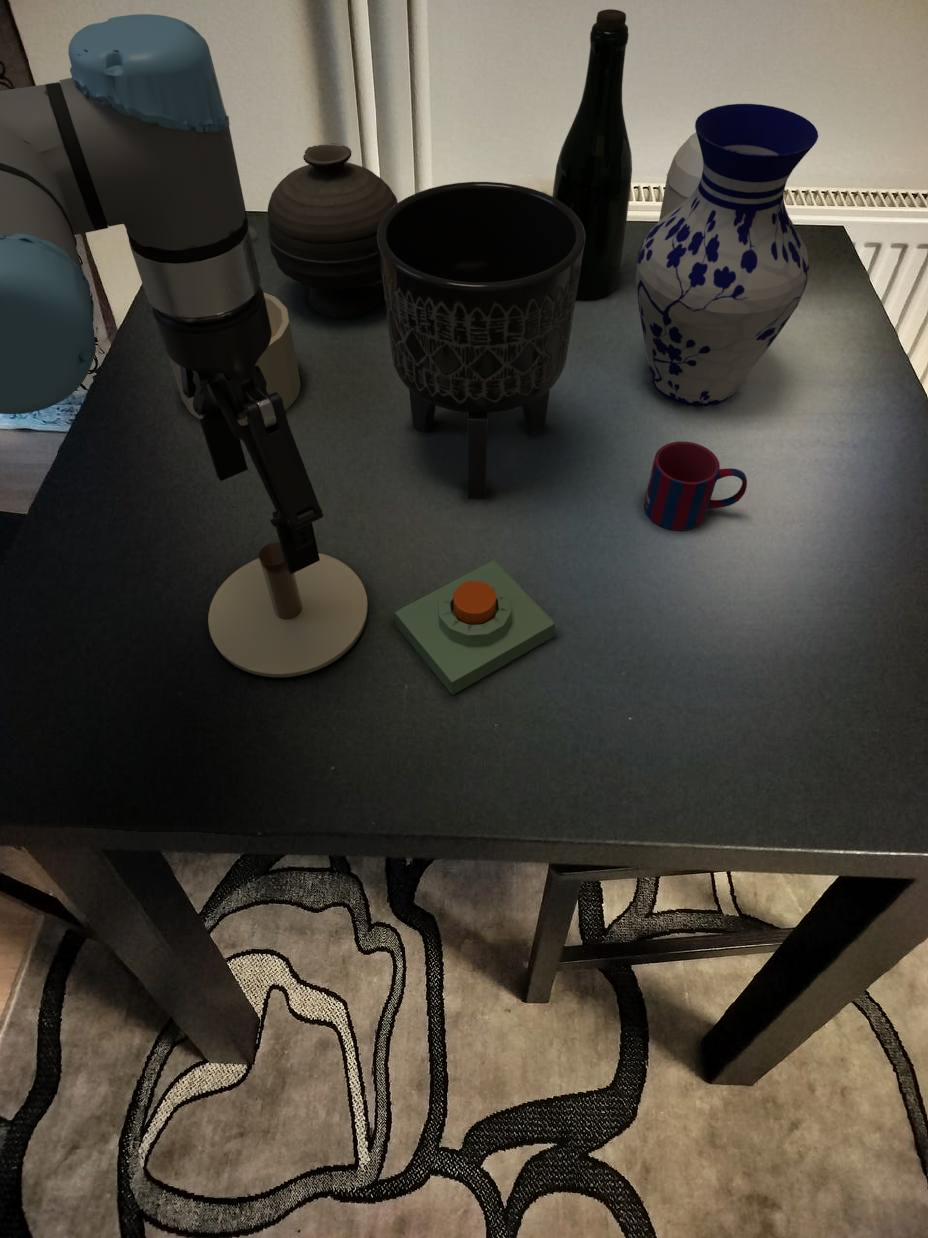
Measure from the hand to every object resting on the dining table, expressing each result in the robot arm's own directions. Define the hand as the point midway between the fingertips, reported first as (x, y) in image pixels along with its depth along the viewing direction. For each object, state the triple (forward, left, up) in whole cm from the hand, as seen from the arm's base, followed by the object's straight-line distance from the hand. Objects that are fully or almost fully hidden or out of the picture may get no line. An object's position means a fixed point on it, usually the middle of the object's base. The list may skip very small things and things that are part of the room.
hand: (266, 517), depth 75 cm
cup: (+43, -12, -14) cm, 47 cm away
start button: (+14, -12, -10) cm, 21 cm away
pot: (+33, +47, -14) cm, 59 cm away
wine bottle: (+63, +31, -14) cm, 71 cm away
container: (+78, +23, -14) cm, 82 cm away
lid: (0, 0, -13) cm, 13 cm away
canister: (+12, +36, -14) cm, 40 cm away
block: (+14, -12, -14) cm, 23 cm away
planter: (+30, +10, -14) cm, 34 cm away
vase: (+60, +5, -14) cm, 62 cm away
